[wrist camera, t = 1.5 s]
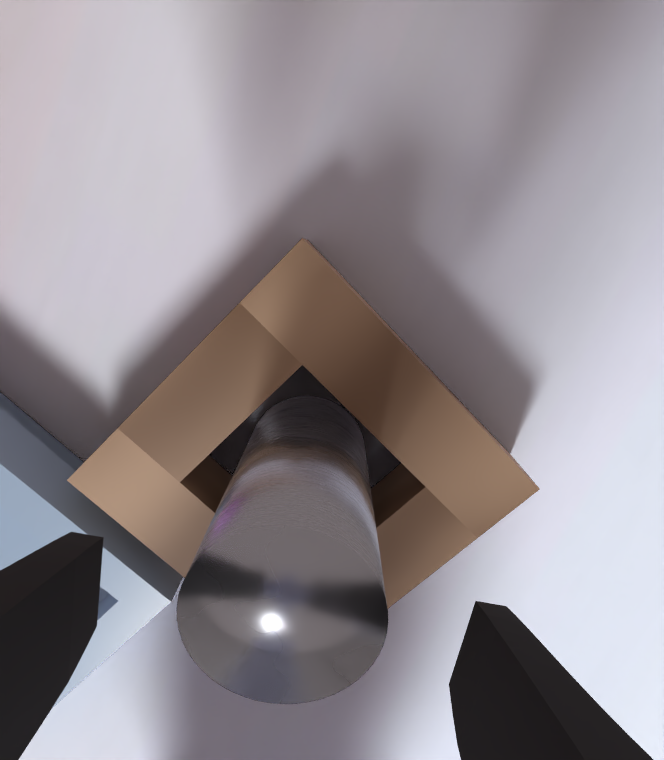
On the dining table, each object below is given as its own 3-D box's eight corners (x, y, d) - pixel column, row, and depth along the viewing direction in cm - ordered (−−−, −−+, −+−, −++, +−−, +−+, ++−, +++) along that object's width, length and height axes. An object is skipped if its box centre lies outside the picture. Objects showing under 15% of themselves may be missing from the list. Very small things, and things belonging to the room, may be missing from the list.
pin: (388, 452, 17) (432, 623, 9) (307, 522, 18) (284, 736, 10) (307, 372, 16) (280, 484, 8) (226, 449, 17) (133, 617, 9)
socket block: (510, 454, 17) (539, 489, 14) (307, 620, 19) (302, 675, 16) (307, 240, 15) (302, 238, 13) (105, 447, 17) (66, 480, 14)
